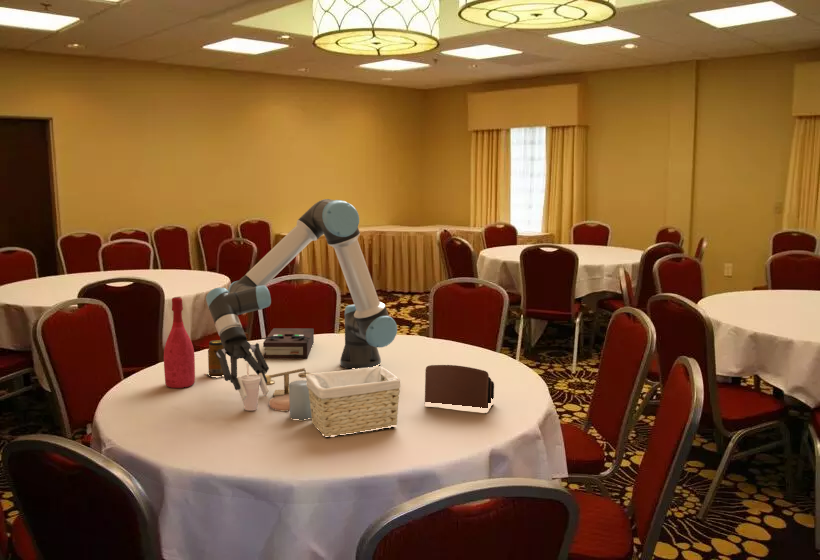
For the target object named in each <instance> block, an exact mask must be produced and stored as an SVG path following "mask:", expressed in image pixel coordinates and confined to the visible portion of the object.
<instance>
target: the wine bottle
mask: <svg viewBox="0 0 820 560" xmlns="http://www.w3.org/2000/svg"><path fill="white" fill-rule="evenodd" d="M183 310H184V307H183V298H182V297H180V296H175V297H172V298H171V311H172V313H173V314H172V315H173V316H172V325H171V329H170V332H169V334H168V336H167V339H166V342H165V344H164V349H163V370H164V381H165V385H166V386H167V387H168V388H171V389H185V388H188V387H191V386H192V385H194V384H195V382H196V381H195V380H196V362H195V360H196V358H195V356H196V355H195V350H194V349H195V348H194V345H193V342H192V340H191V338H190V336H189V334H188V332H187V330H186V328H185V326H184V321H183V313H182V312H183ZM184 387H185V388H184Z"/></svg>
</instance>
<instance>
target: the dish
mask: <svg viewBox="0 0 820 560" xmlns="http://www.w3.org/2000/svg"><path fill="white" fill-rule="evenodd" d="M269 407H270V408H271V409H272V410H275V409H276V411H281V410H288V411H287V412H290V406H289V395H282V396H277V397H272V398H271V399H270V400H269Z"/></svg>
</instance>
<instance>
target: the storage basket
mask: <svg viewBox="0 0 820 560" xmlns="http://www.w3.org/2000/svg"><path fill="white" fill-rule="evenodd" d="M309 373H310V374H307V375H306V378H305V380H307V382H306V385H307V387H308V390H309V399H310V409H311V416H312V418H311V423H313V424H314V425H315V426H316V427H315V426H314V425H313V424H312V425H313V426H314V427H315V429H316V428H318V429H319V431H320V432H321V433H322V434H324V436H331V435H340V434H346V433H354V432H360V431H365V430H371V429H376V428H382V427H388V426H391V425H397V426H398V414H399V411H398V409H399V398H400V392H401V391H400V388H401V380H400V378H398V377H397V375H395V374H394V373H393V372H391V370H390V371H389V370H388V369H387V368H384V367H383V366H381V365H380V366H378V367H369V368H359V369H344V370H334V371H323V372H314V373H312V372H309ZM319 431H318V432H319ZM320 432H319V433H320ZM321 433H320V434H321Z"/></svg>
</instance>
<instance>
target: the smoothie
mask: <svg viewBox="0 0 820 560" xmlns="http://www.w3.org/2000/svg"><path fill="white" fill-rule="evenodd" d="M249 366H250V365H249V363H248V362H247V363H246V374H245V375H240V376H239V377H240V378H241V380H242V383H243V386H244V388H245V391H246V393H247V397H246V399H245V400H243V401H242V402H243V406H244V410H245V411H255V410H257V409H258V403H259V390H260V385H259V383H260V381H261V377H260V376H258V375H257V374H250V367H249Z"/></svg>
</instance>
